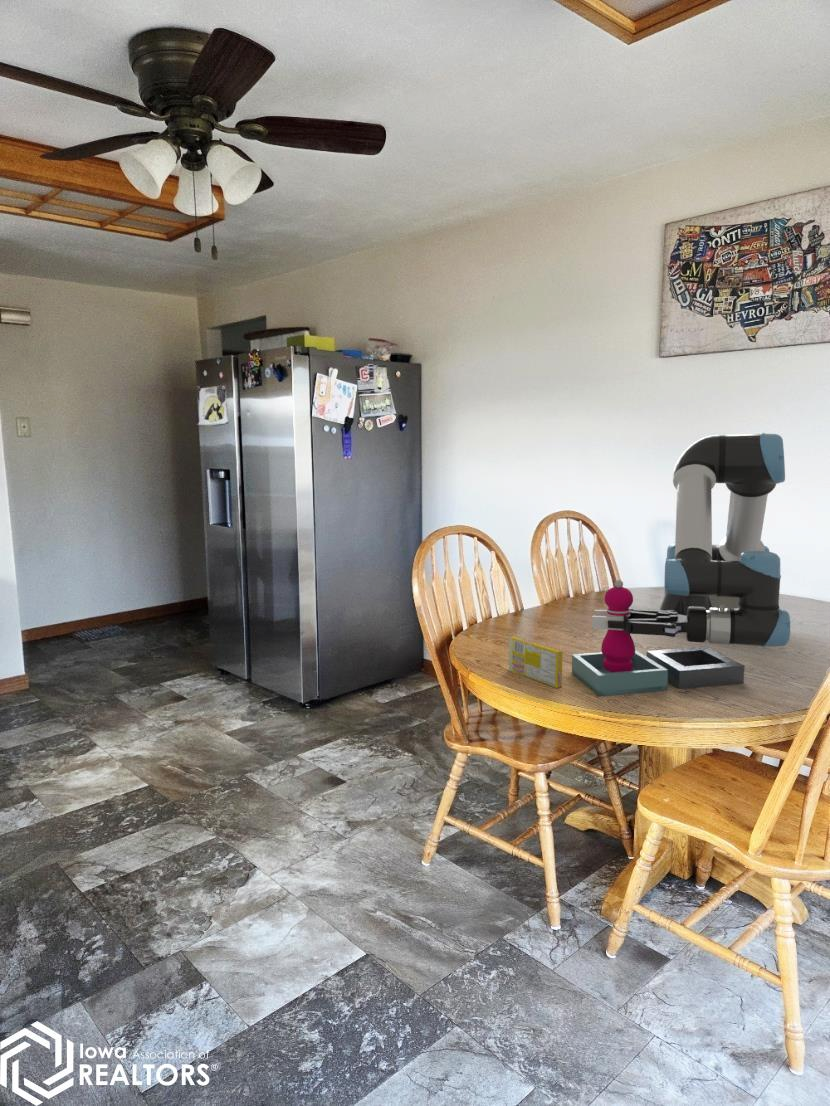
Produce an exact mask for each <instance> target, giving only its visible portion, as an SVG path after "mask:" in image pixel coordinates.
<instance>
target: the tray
mask: <svg viewBox="0 0 830 1106" xmlns="http://www.w3.org/2000/svg"><path fill="white" fill-rule="evenodd" d="M605 658H606V657H605V656H604V655H603V654H602V652H601V651H600V652H586V653H574V654H571V674H572V675H573V676H575V677H576V678H577V679H578V680H579V681H580V682H581V683H583V684H584V685H585V686H586V687H587V688H588V689H590V690H591V691H592V692H593V693H594V694H596V696H598V697H605V696H606V697H607V696H616V695H617V696H619V695H627V694H628V695H629V694H639V693H651V692H653V693H654V692H662V691H663V692H664V691H668V670H667V669H665V668H664V667H662V666H661V665H659V664H657V663H656V662H654V661H653V660H651V659H649V658H648V657H647V655H644V654H643V653H641V652H640V651H638V650H637V649H635V654H634V656H633V657H632V658H631V659H630V660H632V662H633V669H632V670H631V671H625V672H609V671H607V670H605V669H604V668H603V660H604V659H605Z"/></svg>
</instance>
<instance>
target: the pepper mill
mask: <svg viewBox="0 0 830 1106" xmlns="http://www.w3.org/2000/svg"><path fill="white" fill-rule="evenodd" d="M623 586H624V582H623V581H622V580H621V579H618V580H617V579H616V580H615V582H614V587H611V588H609V589H608V590H606V591H605V594H604V603H605V604H606V606H607V608H606V610H607V615H608V616H609V617H624V616H627V619H628V617H629V616H630V615H631V614H630V611H631V610H630V609H631V608H630V607H631V606H632V605H633V603H634V596H633V593H632V591H631V590H630V589H628V588H626V587H623ZM634 642H635V641H634V640H633V638H632V634H627V633H626V631H623V630H608V629H607V631H606V634H605V636H604V638H603V639H602V642H601V647H600V648H601V650H600V652H602V654H603V655H604V656H605V657H606V658H605V659H604V660H603V668H604V669H605V670H607V671H609V672H625V671H631V670H632V669H633V662H632V660H630V659H631V658H632V657H633V656H634V654H635V650H636V645H635V643H634Z"/></svg>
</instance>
